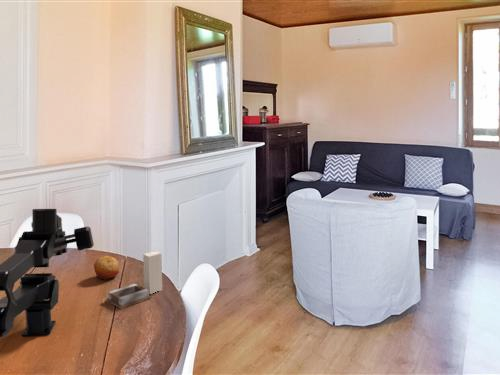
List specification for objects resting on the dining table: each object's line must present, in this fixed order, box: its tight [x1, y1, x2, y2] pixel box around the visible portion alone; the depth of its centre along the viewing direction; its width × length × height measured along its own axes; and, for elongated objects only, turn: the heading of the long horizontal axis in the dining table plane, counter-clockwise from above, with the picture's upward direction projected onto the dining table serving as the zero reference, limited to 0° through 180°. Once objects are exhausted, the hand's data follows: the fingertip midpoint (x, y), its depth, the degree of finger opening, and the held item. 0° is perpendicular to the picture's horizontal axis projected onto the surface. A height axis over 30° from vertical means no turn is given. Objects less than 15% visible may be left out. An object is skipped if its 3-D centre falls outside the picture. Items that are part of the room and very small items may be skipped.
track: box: [105, 283, 152, 310], centre depth 128 cm, size 10×8×3 cm
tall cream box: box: [142, 250, 163, 295], centre depth 134 cm, size 4×3×12 cm, turn 136°
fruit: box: [93, 255, 120, 281], centre depth 145 cm, size 8×8×8 cm
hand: (67, 240), depth 132 cm, fingers open, 9 cm apart
